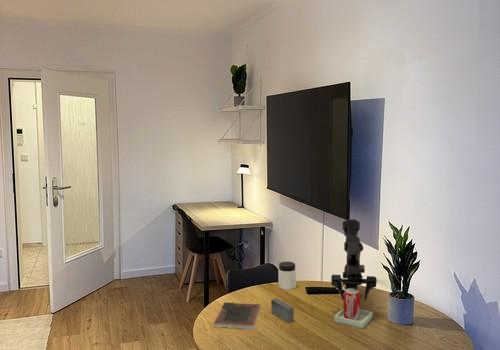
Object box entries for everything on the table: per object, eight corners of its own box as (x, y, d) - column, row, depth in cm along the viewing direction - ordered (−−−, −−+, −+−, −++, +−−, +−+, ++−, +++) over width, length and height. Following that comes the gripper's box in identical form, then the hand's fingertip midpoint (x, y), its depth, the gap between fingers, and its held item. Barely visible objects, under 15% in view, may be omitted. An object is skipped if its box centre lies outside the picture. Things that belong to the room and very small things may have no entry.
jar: (287, 291, 226) (287, 267, 224) (275, 287, 232) (275, 264, 230) (299, 286, 232) (299, 263, 231) (287, 282, 238) (286, 260, 236)
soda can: (363, 320, 191) (363, 292, 190) (347, 322, 190) (347, 294, 188) (355, 313, 198) (355, 286, 196) (340, 315, 196) (340, 288, 195)
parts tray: (345, 311, 202) (345, 306, 201) (372, 317, 195) (372, 312, 195) (334, 322, 192) (334, 316, 191) (362, 328, 185) (362, 323, 185)
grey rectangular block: (277, 311, 203) (277, 298, 203) (294, 320, 193) (293, 307, 193) (271, 312, 202) (271, 299, 201) (287, 322, 192) (287, 309, 191)
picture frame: (224, 307, 210) (213, 328, 189) (224, 302, 210) (213, 323, 188) (260, 309, 207) (253, 331, 186) (260, 303, 207) (253, 325, 186)
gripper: (331, 256, 196) (331, 291, 187) (376, 258, 193) (378, 293, 183) (331, 268, 205) (331, 301, 195) (374, 270, 201) (376, 304, 192)
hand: (353, 300), depth 191 cm, fingers open, 9 cm apart
